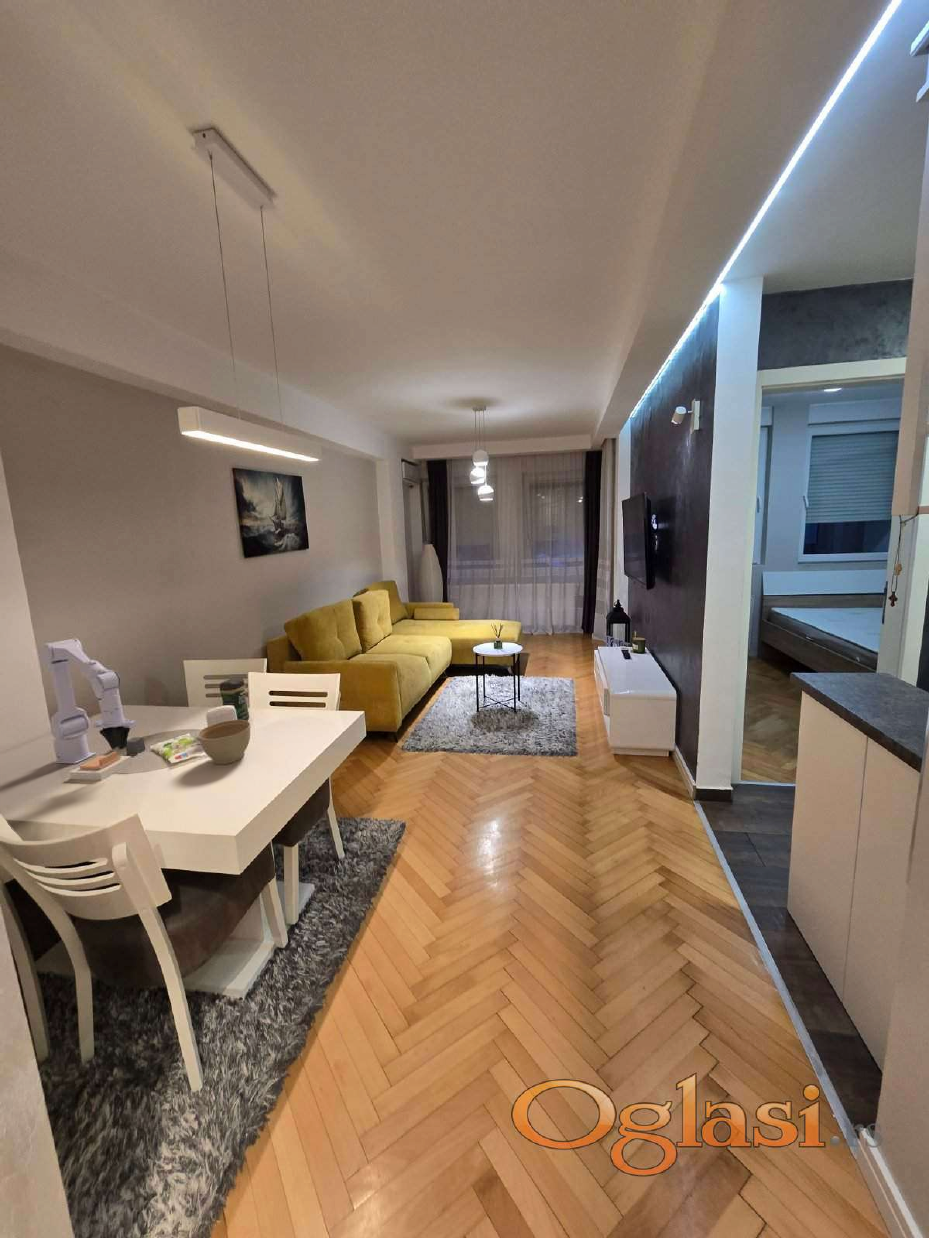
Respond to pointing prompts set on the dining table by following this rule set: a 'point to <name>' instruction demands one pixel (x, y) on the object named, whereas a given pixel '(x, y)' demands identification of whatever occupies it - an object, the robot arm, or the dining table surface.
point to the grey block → (135, 745)
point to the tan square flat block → (101, 761)
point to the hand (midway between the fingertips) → (119, 747)
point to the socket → (101, 770)
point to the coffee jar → (235, 696)
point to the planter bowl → (225, 740)
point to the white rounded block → (221, 714)
